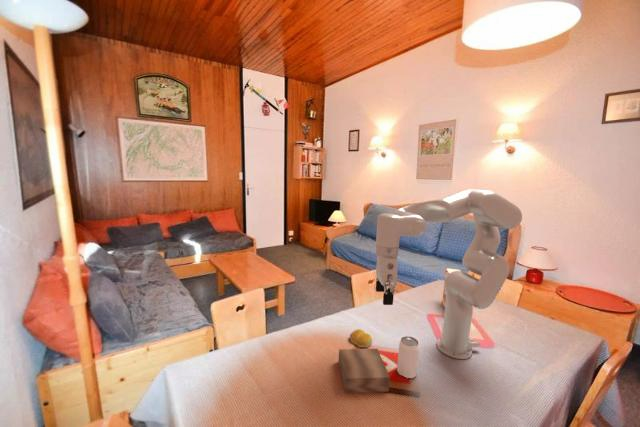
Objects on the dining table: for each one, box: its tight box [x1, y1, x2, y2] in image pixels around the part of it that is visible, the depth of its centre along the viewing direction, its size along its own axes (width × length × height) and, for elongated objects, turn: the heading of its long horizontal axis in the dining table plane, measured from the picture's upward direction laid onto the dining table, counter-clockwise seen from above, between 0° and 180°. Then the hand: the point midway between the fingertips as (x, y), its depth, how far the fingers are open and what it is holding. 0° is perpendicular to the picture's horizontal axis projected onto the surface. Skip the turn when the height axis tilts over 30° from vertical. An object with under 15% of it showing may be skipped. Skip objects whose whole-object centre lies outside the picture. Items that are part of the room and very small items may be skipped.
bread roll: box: [349, 329, 373, 348], centre depth 113 cm, size 8×9×4 cm
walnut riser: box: [338, 348, 391, 394], centre depth 94 cm, size 14×14×5 cm
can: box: [396, 335, 420, 379], centre depth 96 cm, size 6×6×12 cm
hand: (383, 297), depth 97 cm, fingers open, 9 cm apart
